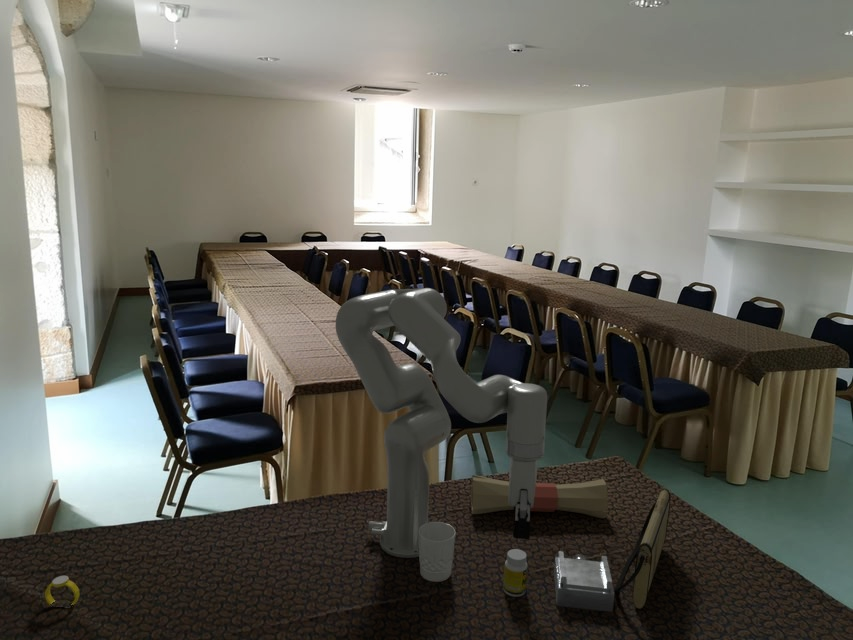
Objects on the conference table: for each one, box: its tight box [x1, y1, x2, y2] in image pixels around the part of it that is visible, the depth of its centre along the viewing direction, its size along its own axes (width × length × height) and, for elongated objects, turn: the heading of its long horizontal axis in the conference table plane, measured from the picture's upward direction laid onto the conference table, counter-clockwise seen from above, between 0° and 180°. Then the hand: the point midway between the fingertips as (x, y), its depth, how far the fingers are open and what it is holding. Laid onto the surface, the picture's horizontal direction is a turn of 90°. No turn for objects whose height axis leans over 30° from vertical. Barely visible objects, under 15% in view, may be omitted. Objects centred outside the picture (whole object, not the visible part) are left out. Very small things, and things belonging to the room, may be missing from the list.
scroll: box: [470, 474, 609, 519], centre depth 167 cm, size 11×34×10 cm, turn 90°
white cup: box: [418, 521, 457, 583], centre depth 140 cm, size 8×8×10 cm
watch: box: [44, 575, 81, 606], centre depth 126 cm, size 6×3×6 cm, turn 91°
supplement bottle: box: [502, 548, 528, 598], centre depth 135 cm, size 5×5×8 cm
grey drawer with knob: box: [553, 550, 615, 613], centre depth 137 cm, size 11×14×6 cm
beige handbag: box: [613, 488, 671, 610], centre depth 141 cm, size 30×7×15 cm, turn 152°
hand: (521, 525), depth 132 cm, fingers open, 9 cm apart
